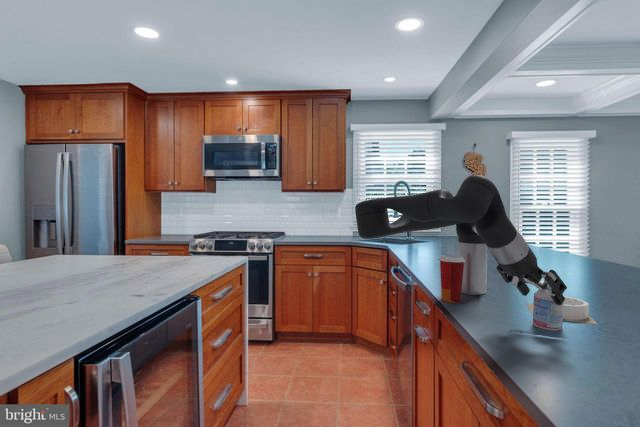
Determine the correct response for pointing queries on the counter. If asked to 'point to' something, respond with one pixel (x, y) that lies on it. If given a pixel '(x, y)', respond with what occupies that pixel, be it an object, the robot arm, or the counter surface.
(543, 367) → the counter surface
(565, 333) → the counter surface
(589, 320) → the mat
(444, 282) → the paper cup
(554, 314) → the pill bottle
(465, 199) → the robot arm
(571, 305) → the dish
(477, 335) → the counter surface
